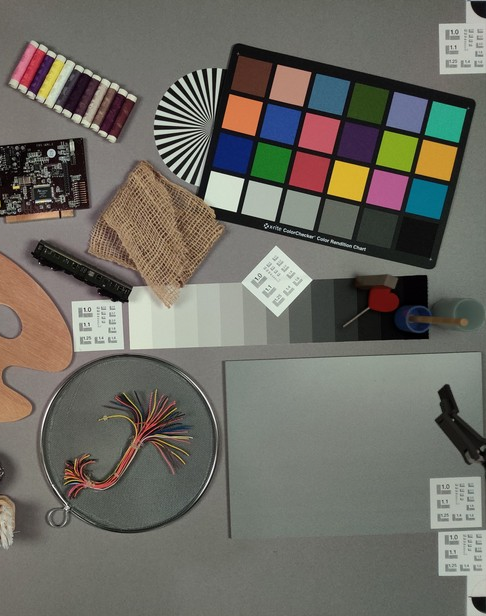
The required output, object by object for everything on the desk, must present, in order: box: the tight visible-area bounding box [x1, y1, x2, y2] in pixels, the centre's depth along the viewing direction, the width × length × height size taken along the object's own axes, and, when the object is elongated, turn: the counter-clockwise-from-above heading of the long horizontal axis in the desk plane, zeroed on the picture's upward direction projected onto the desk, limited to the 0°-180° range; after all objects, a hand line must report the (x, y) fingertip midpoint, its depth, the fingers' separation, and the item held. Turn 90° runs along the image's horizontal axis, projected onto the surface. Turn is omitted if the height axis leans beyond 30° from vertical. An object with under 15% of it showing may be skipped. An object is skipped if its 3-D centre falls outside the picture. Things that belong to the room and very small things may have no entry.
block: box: [352, 273, 399, 291], centre depth 137 cm, size 3×3×14 cm
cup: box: [431, 297, 486, 333], centre depth 139 cm, size 8×8×10 cm
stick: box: [408, 314, 468, 326], centre depth 133 cm, size 2×2×20 cm
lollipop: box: [342, 289, 400, 328], centre depth 143 cm, size 8×1×15 cm
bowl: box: [393, 304, 432, 334], centre depth 141 cm, size 6×6×5 cm
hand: (476, 395), depth 117 cm, fingers open, 13 cm apart
